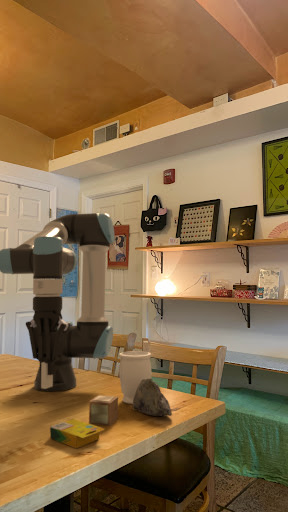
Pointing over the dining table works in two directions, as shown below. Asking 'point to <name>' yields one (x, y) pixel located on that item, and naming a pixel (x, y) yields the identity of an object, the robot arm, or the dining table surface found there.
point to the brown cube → (103, 410)
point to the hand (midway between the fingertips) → (46, 387)
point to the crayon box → (75, 433)
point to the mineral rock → (151, 399)
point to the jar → (133, 372)
